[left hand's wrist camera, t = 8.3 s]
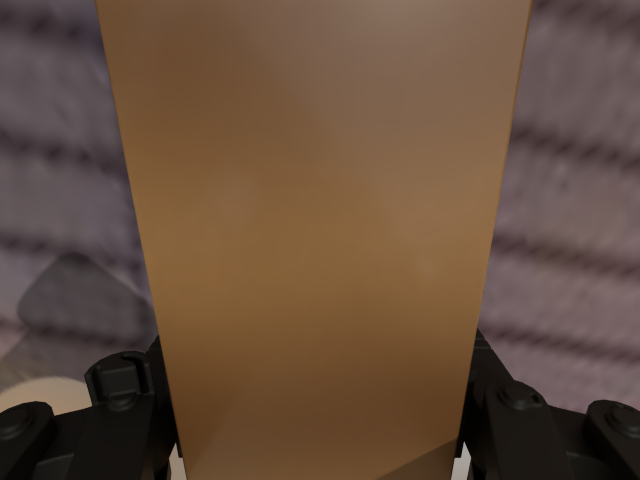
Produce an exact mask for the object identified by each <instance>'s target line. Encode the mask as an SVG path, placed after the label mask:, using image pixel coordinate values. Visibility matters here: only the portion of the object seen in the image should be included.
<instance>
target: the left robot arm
mask: <svg viewBox="0 0 640 480" xmlns="http://www.w3.org/2000/svg"><path fill="white" fill-rule="evenodd" d="M84 377H85V380H86V384H87V388H88V391H89V395H90V398H91V402H92V406H91V407H88V408H85V409H81V410H77V411H73V412H69V413H64V414H60V415H56V416H54V413H53V410H52V407H51V406H50V405H48V404H47V403H46V402H38V401H34V402H28V403H22V404H20V405H17V406H14V407H11V408H9V409H7V410H5V411H3V412H1V413H0V480H171V467H170V461H169V457H170V455H171V452H172V450H173V447H174V445H175V443H176V445H177V451H178V456H179V458H183V457H182V452H181V447H180V442H179V436H178V431H177V426H176V421H175V416H174V410H173V405H172V400H171V395H170V390H169V384H168V379H167V374H166V369H165V364H164V358H163V353H162V348H161V343H160V338H159V335H158V336H157V338H156V339H155V342H153V343H152V345H151V346H150V348H149V351H147V352H146V353H145V354H144V353H142V352H137V351H124V352H120V353H116V354H112V355H110V356H108V357H105V358H103V359H101V360H99V361H98V362H97V363H95V364H94V365H93V366H91V367H90V368H89V369H88V371H87V372H86V374H85V375H84ZM464 442H465V444H466V446H467V449H468V451H469V453H470V456H471V461H470V466H469V471H468V477H467V480H640V411H638V410H636V409H635V408H633V407H631V406H628V405H625V404H622V403H620V402H616V401H610V400H597V401H594V402H592V403H591V404H590V405H589V406H588V409H587V412H586V414H582V413H578V412H574V411H569V410H565V409H561V408H557V407H553V406H550V405H548V404H547V403H546V401H545V399H544V398H543V396H542V395H541V394H539V393H538V392H537V391H536V390H535V389H533V388H532V387H530V386H528V385H526V384H524V383H522V382H519V381H516V380H514V379H513V378H512V376H511V375H510V374H509V372H508V371H507V369H506V368H505V366H504V365H503V364H502V362H501V361H500V359H499V358H498V356H497V355H496V354H495V352H494V351H493V349H491V347H490V345H489V344H488V342H487V341H486V340H485V338H484V337H483V335H482V334H481V332H480V331H479V329H478V328H477V330H476V336H475V342H474V348H473V353H472V359H471V365H470V371H469V377H468V383H467V388H466V394H465V400H464V406H463V412H462V418H461V424H460V429H459V435H458V441H457V447H456V453H455V458H461V454H462V449H463V444H464Z"/></svg>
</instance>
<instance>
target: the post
mask: <svg viewBox="0 0 640 480" xmlns="http://www.w3.org/2000/svg"><path fill="white" fill-rule="evenodd" d="M532 3H533V0H95V4H96V10H97V15H98V20H99V25H100V30H101V36H102V41H103V46H104V51H105V56H106V62H107V67H108V72H109V77H110V83H111V88H112V93H113V98H114V103H115V109H116V114H117V119H118V124H119V129H120V135H121V140H122V145H123V150H124V155H125V161H126V166H127V171H128V176H129V181H130V187H131V192H132V197H133V202H134V207H135V213H136V218H137V223H138V228H139V233H140V239H141V244H142V249H143V254H144V260H145V265H146V270H147V275H148V280H149V286H150V291H151V296H152V301H153V306H154V312H155V317H156V322H157V327H158V332H159V338H160V343H161V348H162V353H163V358H164V364H165V369H166V374H167V379H168V384H169V390H170V395H171V400H172V405H173V410H174V416H175V421H176V426H177V431H178V436H179V442H180V447H181V452H182V457H183V462H184V468H185V473H186V478H187V480H451V476H452V470H453V464H454V459H455V453H456V447H457V441H458V435H459V429H460V424H461V418H462V412H463V406H464V400H465V394H466V388H467V383H468V377H469V371H470V365H471V359H472V353H473V348H474V342H475V336H476V330H477V324H478V318H479V313H480V307H481V301H482V295H483V289H484V283H485V277H486V272H487V266H488V260H489V254H490V248H491V242H492V237H493V231H494V225H495V219H496V213H497V207H498V202H499V196H500V190H501V184H502V178H503V172H504V166H505V161H506V155H507V149H508V143H509V137H510V131H511V126H512V120H513V114H514V108H515V102H516V96H517V91H518V85H519V79H520V73H521V67H522V61H523V55H524V50H525V44H526V38H527V32H528V26H529V20H530V15H531V9H532Z"/></svg>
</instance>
